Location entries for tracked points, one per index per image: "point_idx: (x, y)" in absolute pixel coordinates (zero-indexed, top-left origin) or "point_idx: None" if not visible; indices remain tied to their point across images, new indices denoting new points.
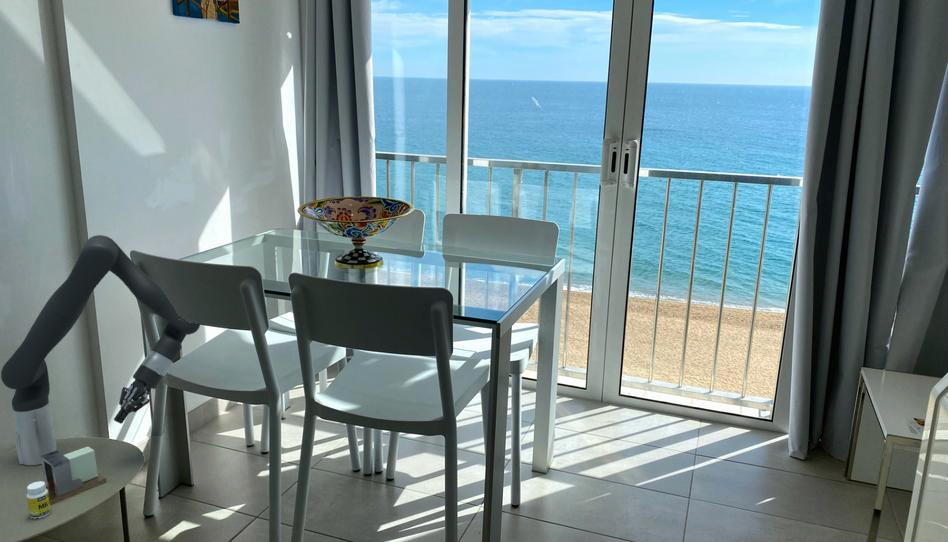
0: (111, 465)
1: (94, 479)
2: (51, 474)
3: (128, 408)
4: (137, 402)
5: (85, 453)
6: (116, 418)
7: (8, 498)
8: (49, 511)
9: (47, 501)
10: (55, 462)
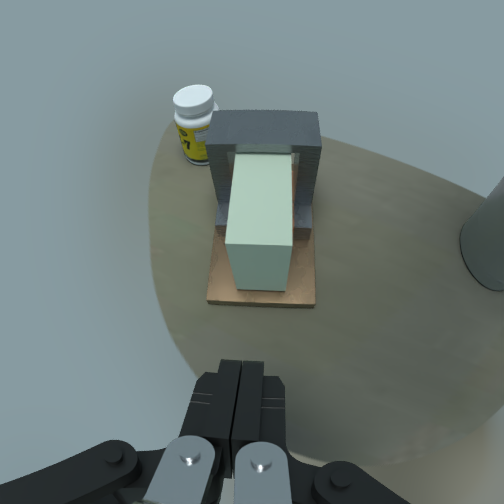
0: (306, 369)
1: (230, 275)
2: (294, 169)
3: (113, 444)
4: (6, 484)
5: (229, 211)
6: (229, 367)
7: (336, 141)
8: (186, 157)
9: (181, 137)
10: (224, 117)
